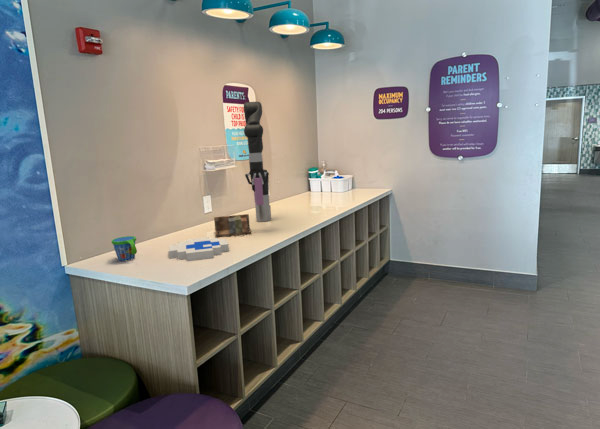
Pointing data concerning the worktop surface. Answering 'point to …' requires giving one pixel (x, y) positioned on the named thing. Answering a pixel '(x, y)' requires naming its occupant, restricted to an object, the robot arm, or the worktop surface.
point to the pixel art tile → (198, 248)
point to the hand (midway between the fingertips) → (258, 190)
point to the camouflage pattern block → (232, 225)
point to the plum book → (258, 191)
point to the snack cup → (125, 247)
